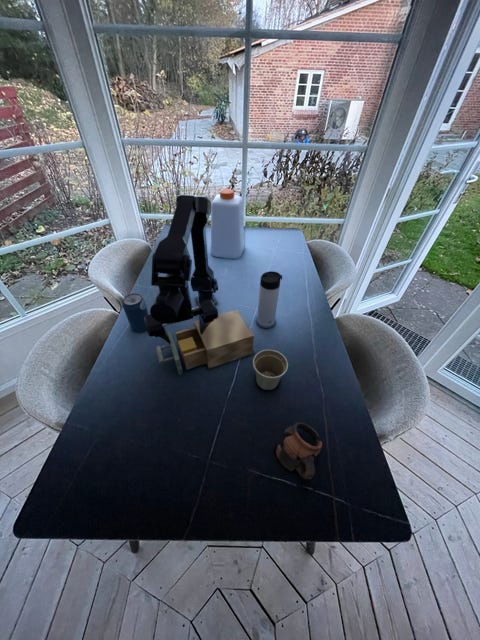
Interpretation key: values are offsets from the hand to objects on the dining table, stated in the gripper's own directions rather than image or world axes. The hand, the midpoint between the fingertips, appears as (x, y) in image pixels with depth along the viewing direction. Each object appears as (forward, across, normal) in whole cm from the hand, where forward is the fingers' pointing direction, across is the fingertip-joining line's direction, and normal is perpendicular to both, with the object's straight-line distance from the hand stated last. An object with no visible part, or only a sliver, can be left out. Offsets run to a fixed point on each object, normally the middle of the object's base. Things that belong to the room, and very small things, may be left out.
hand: (185, 338), depth 76 cm
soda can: (+9, +12, -20) cm, 25 cm away
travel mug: (+9, -30, -5) cm, 31 cm away
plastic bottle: (+9, -36, -57) cm, 68 cm away
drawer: (+8, 0, 0) cm, 8 cm away
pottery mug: (+9, -16, +38) cm, 42 cm away
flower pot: (+9, -18, +17) cm, 27 cm away
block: (+7, 0, 0) cm, 7 cm away
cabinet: (+9, -12, 0) cm, 15 cm away
